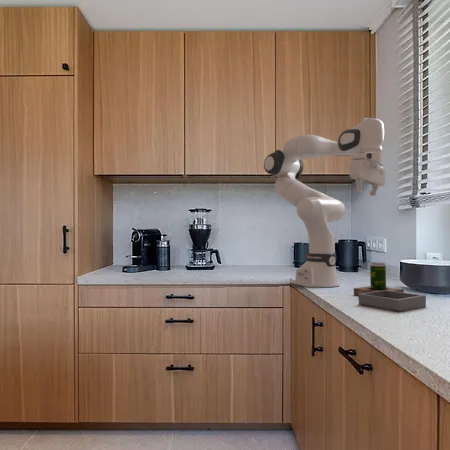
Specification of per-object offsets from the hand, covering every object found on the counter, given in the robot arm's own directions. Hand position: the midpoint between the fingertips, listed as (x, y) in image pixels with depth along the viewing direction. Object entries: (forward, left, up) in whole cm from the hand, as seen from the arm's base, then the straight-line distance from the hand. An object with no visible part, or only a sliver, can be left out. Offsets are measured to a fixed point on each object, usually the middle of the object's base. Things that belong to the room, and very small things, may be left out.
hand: (366, 193), depth 146 cm
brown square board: (+7, -4, -38) cm, 39 cm away
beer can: (+7, -4, -39) cm, 39 cm away
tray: (+21, -17, -38) cm, 47 cm away
